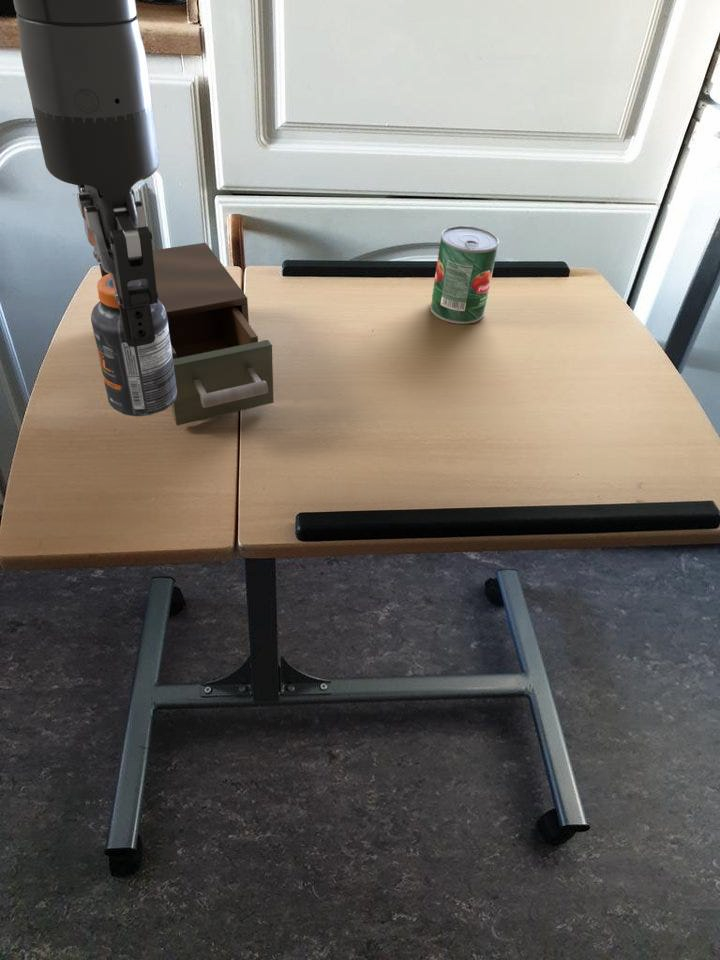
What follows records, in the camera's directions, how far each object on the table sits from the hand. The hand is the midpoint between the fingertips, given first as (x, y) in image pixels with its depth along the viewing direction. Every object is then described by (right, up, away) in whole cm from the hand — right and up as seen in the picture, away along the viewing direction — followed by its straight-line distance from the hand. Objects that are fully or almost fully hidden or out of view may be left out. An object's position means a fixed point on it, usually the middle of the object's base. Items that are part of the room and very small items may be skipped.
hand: (130, 322), depth 57 cm
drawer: (+1, -2, +26) cm, 26 cm away
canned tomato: (+33, +12, +45) cm, 57 cm away
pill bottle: (-1, -6, +5) cm, 8 cm away
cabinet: (-4, +5, +34) cm, 34 cm away
